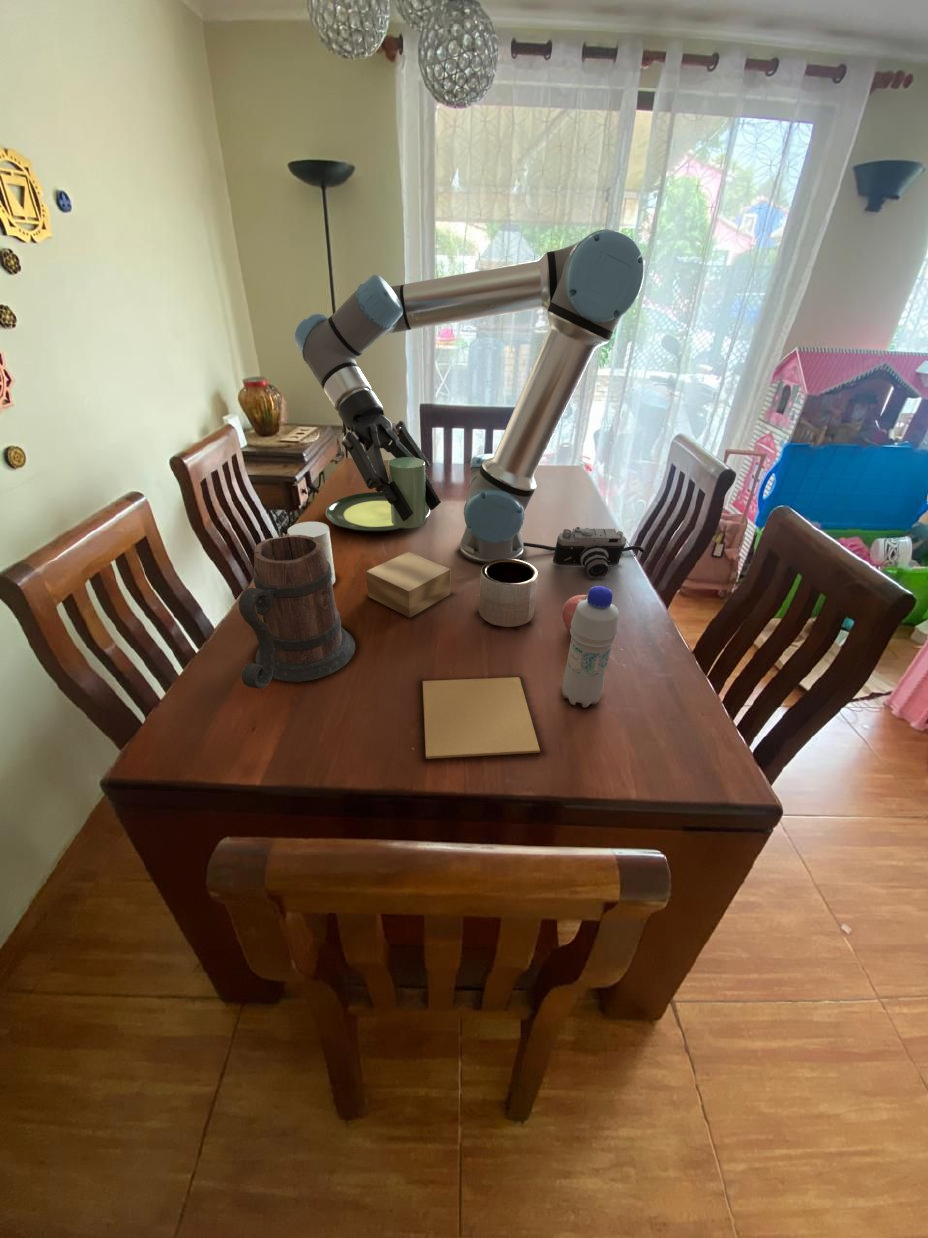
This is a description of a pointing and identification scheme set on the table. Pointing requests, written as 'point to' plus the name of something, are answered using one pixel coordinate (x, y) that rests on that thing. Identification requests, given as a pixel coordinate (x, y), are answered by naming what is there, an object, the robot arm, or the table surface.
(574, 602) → the apple
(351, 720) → the table surface
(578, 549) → the camera
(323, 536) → the cup
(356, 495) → the plate
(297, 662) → the tankard
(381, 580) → the plate
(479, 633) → the table surface
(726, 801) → the table surface
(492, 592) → the planter
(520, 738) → the cork mat
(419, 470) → the canister
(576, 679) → the bottle
